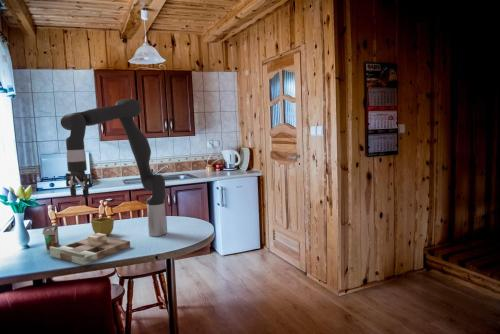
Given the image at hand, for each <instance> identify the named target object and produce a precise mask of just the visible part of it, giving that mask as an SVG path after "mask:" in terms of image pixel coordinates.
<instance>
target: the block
mask: <svg viewBox="0 0 500 334" xmlns="http://www.w3.org/2000/svg"><path fill="white" fill-rule="evenodd" d="M106 237H107V236H106V234H101V233H97V234H95V233H94V234H91V235H88V236H87V238H88V244H90V245H94V246H98V245H101V244H103V243H106V242H107V238H106Z"/></svg>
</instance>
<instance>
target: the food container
mask: <svg viewBox="0 0 500 334" xmlns="http://www.w3.org/2000/svg"><path fill="white" fill-rule="evenodd" d="M58 228H59V225H58V224H53V225H49V226H46V227H44V228H43V230H42V233H41V234H42V235H43V236H44V241H45V242H44V243H45V246H46V250H49V251H50V248H49V247H51V246H52V247H56V248H58V247H59V245H60V239H59V229H58Z"/></svg>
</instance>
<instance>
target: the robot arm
mask: <svg viewBox="0 0 500 334" xmlns="http://www.w3.org/2000/svg"><path fill="white" fill-rule="evenodd" d="M141 111H142V106H141V104H140V102H139V101H138V100H137V99H134V98H124V99H119V100H117V101H116V102H115V105H110V106H109V105H108V106H103V107H102V106H101V107H95V108H91V109H87V110H83V111H78V112H72V113H71V112H70V113H66V114H64V115H63V116H62V117H61V119H60V121H59V122H60V126H61V128H63V129H65V130H67V131H70V134H69V136H67V137H66V138H65V145H66V165H67V173H65V187H66V188H67V187H68V188H69V192H70V197H73V198H74V197H77V188H76V186H77V185H79V186H80V187H81V188H82V198H84V199H86V198H87V199H88V198H89V196H90V195H89V190H90V188H92V186H93V185H92V184H93V183H92V177H91V173H86V172H85V171H87V170H88V169H87V168H88V167H87V157H86V151H85V150H86V149H85V135H86V129H87V127H90V126H91V127H92V126H97V125H100V124H102V123H106V122H110V121H113V120H118V119H119V121H120V123H121V126H122V128H123V130H124V132H125V135H126V137H127V140H128V143H129V146H130V149H131V153H132V155H133V157H134V160H135V162H136V165H137V170H138V172H139V176H140V177H139V178H140V181H141V185H142V187H143V189H144V190H146V192H147V191H148V192H152V193H151V194H152V195H151V196H150V197H148V198H147V199H146V211H147V225H148V226H147V227H148V228H147V229H148V235H149V236H150V237H162V236H164V234H165V235H166V234H167V233H168V224H167V223H168V222H167V220H168V219H167V216H166V210H165V199H166V198H165V197H166V181H165V177H164V176H163V175H161V174H154V173H153V172H152V170H151V166H150V160H151V155H152V149H151V146H150V144H149V140H148V138H147V137H146V136H145V134H144V133H143V132H142V130H141V129H140V128H139V127H138V126H137V124H136V123H135V120H134V118H135V117H137V116H139V115H140V114H141ZM166 232H167V233H166ZM161 235H162V236H161Z"/></svg>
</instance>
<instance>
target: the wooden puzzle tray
mask: <svg viewBox="0 0 500 334" xmlns="http://www.w3.org/2000/svg"><path fill="white" fill-rule="evenodd" d="M106 238H107V242H106V243H103V244H101V245H98V246H94V245H90V244H88V237H87V238H84V239H81V240H77V241H75V242H72V243H68V244H64V245H62V246H58V247H57V248H56V247H52V246H51V247H49V248H50V250H49V255H50V257H51V258H56V259H60V260H63V261H67V262H71V263H75V264H78V265H79V264H80V265H84V266H85V265H87V264H89V263H92V262H95V261H98V260H99V259H103V258H105V257H108V256H111V255H113V254H115V253H116V254H117V253H118V252H122V251H123V250H127V249H128V248H131V241H130V240H125V239H120V238H116V237H115V238H114V237H111V236H109V237H108V236H106Z"/></svg>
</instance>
